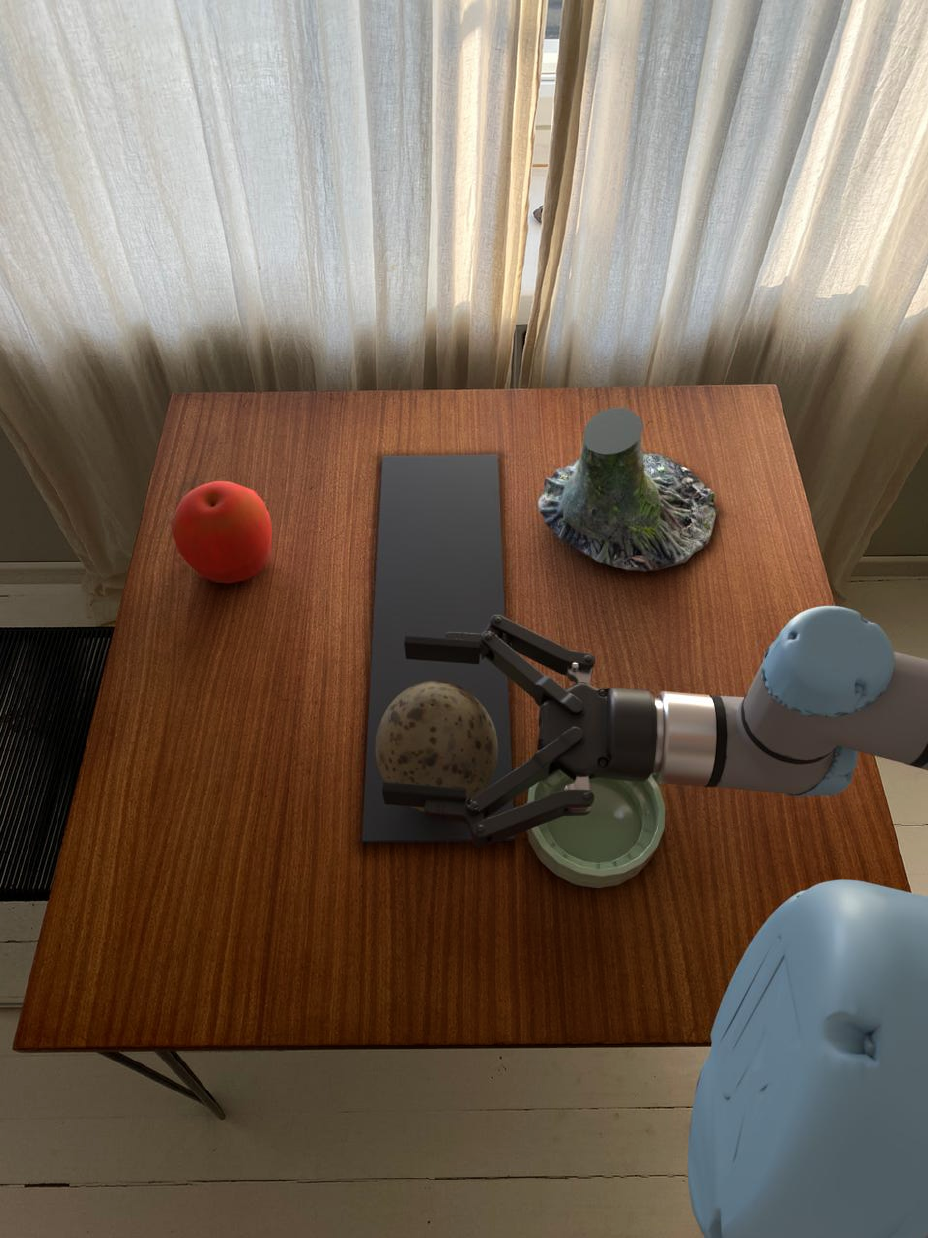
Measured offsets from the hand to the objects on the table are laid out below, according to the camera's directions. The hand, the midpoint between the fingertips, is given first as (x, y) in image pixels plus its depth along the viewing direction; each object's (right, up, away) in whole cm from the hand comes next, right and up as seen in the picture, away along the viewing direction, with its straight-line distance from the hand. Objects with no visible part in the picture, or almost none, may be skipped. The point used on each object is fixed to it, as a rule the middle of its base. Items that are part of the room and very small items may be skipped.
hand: (394, 716), depth 73 cm
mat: (+3, +8, +21) cm, 22 cm away
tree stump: (+25, +20, +29) cm, 43 cm away
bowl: (+18, -11, +8) cm, 22 cm away
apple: (-20, +14, +25) cm, 35 cm away
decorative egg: (+3, -7, +10) cm, 13 cm away
